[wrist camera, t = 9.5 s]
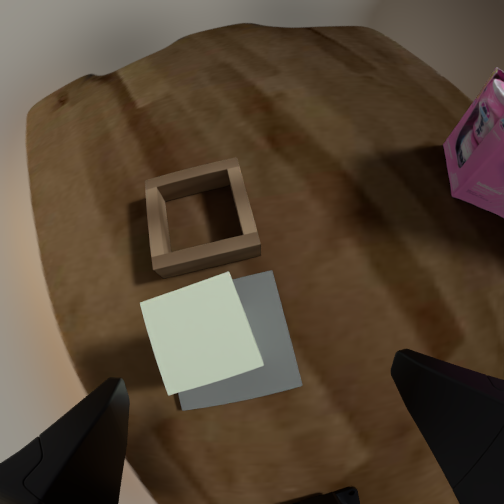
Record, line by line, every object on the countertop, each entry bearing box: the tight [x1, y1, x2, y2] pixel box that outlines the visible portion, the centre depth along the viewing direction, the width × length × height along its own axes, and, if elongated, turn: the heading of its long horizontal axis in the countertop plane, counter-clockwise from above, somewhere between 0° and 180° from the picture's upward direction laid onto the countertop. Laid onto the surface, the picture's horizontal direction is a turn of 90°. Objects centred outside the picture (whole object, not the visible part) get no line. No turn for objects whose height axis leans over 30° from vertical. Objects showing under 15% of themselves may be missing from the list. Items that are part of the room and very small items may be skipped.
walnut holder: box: [145, 157, 261, 278], centre depth 23 cm, size 8×8×2 cm
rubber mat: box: [178, 270, 302, 411], centre depth 21 cm, size 9×9×1 cm
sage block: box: [140, 272, 264, 395], centre depth 16 cm, size 4×4×10 cm
